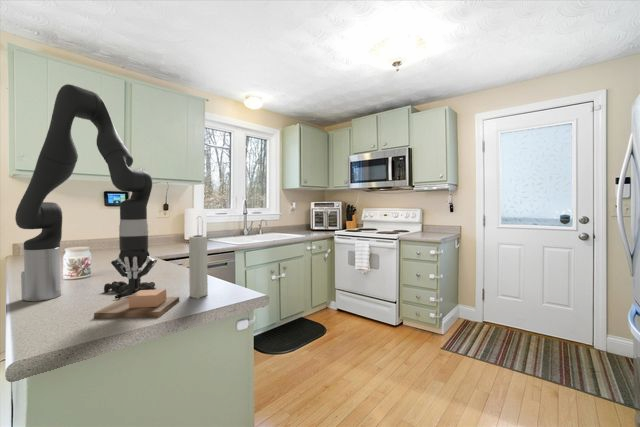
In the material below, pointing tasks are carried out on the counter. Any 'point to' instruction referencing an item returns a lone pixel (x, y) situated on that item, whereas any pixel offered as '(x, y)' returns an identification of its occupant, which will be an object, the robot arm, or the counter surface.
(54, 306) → the counter surface
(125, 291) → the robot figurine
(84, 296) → the counter surface
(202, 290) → the paper towel roll
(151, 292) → the labeled cardboard box
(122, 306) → the board
